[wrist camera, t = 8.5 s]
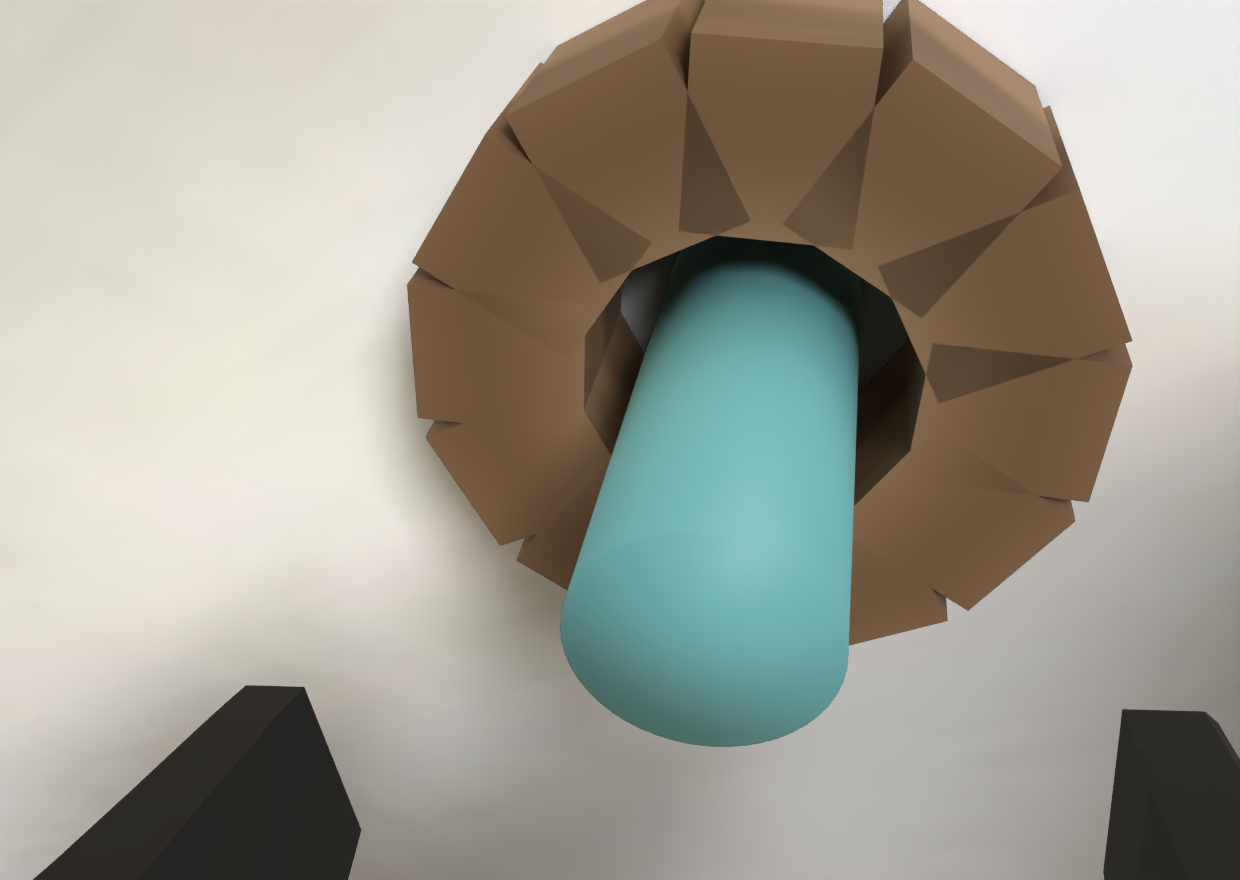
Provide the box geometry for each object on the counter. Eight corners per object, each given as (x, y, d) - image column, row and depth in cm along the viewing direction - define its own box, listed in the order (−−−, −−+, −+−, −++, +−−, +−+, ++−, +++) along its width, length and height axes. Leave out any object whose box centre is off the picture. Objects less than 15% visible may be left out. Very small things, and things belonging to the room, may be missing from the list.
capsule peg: (902, 275, 18) (910, 638, 12) (785, 405, 20) (736, 785, 13) (740, 166, 18) (658, 482, 11) (635, 309, 19) (510, 656, 13)
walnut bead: (1236, 233, 17) (1296, 336, 15) (823, 615, 22) (817, 736, 20) (679, -176, 15) (641, -138, 13) (377, 343, 21) (310, 439, 18)
